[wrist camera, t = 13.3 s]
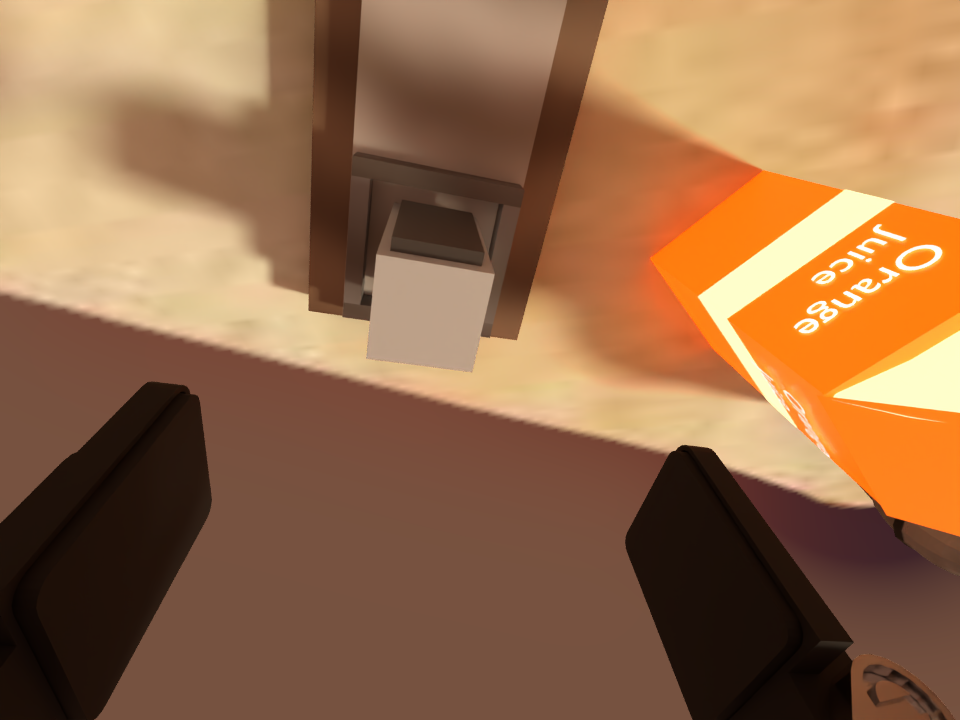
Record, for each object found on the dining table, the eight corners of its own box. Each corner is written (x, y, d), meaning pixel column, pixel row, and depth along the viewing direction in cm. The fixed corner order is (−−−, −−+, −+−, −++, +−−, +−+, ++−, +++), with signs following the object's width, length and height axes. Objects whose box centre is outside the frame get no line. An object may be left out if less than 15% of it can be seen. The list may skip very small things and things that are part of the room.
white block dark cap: (395, 191, 22) (378, 239, 15) (478, 207, 23) (497, 260, 16) (385, 281, 24) (366, 358, 17) (461, 293, 25) (472, 372, 18)
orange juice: (765, 167, 26) (1417, 322, 9) (819, 277, 30) (1348, 536, 13) (646, 259, 28) (982, 530, 11) (710, 351, 32) (1035, 659, 15)
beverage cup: (753, 427, 36) (1048, 740, 19) (773, 345, 32) (1165, 642, 15) (845, 414, 36) (1223, 713, 19) (875, 331, 32) (1381, 608, 15)
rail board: (335, -348, 16) (186, -1016, 6) (654, -226, 18) (909, -587, 8) (316, 296, 27) (253, 409, 18) (512, 325, 30) (549, 440, 20)
